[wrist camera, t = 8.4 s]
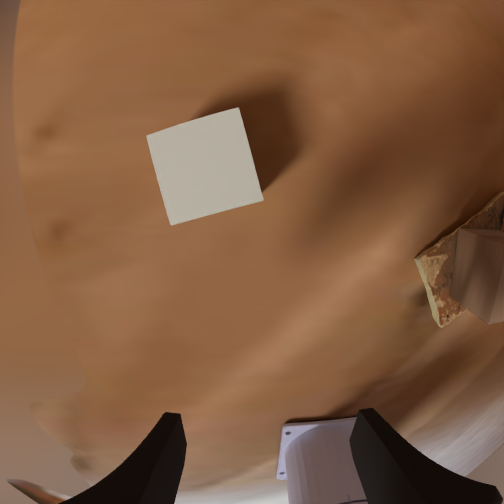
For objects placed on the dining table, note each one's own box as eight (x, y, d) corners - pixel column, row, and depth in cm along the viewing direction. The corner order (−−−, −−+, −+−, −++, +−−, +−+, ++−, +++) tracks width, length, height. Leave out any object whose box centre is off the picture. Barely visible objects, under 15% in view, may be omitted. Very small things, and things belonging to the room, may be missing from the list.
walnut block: (490, 290, 19) (528, 314, 14) (448, 295, 18) (488, 325, 14) (500, 230, 17) (544, 245, 12) (458, 228, 17) (505, 245, 12)
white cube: (260, 194, 18) (263, 200, 14) (189, 213, 18) (170, 225, 14) (241, 123, 17) (238, 107, 13) (170, 143, 17) (146, 135, 13)
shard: (497, 187, 18) (511, 189, 16) (512, 262, 20) (525, 268, 18) (407, 252, 20) (419, 258, 18) (432, 328, 21) (442, 338, 19)
